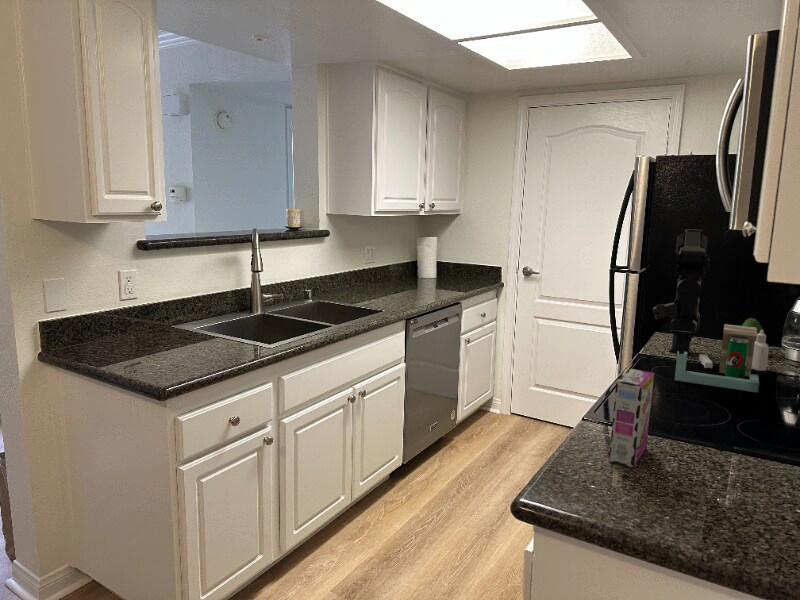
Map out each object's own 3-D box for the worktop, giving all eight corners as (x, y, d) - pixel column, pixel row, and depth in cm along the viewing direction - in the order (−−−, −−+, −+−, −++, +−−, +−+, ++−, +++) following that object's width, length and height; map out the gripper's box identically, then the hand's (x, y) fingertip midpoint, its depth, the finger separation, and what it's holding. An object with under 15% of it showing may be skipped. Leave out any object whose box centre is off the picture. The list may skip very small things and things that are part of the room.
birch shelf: (719, 371, 173) (724, 324, 171) (750, 376, 169) (756, 327, 167) (718, 378, 166) (723, 329, 164) (750, 383, 162) (757, 332, 160)
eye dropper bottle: (749, 369, 175) (753, 331, 173) (749, 365, 180) (753, 327, 178) (766, 372, 173) (771, 332, 171) (765, 367, 178) (770, 329, 176)
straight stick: (698, 360, 187) (699, 354, 187) (705, 360, 186) (706, 354, 186) (704, 368, 178) (705, 362, 177) (712, 369, 177) (712, 362, 177)
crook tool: (677, 372, 172) (680, 345, 171) (757, 383, 162) (760, 355, 161) (674, 380, 165) (677, 352, 163) (758, 392, 155) (761, 363, 153)
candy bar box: (635, 469, 110) (642, 386, 107) (608, 462, 113) (614, 380, 110) (648, 449, 119) (655, 371, 116) (623, 443, 122) (629, 367, 119)
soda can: (748, 380, 165) (753, 339, 163) (730, 380, 165) (735, 339, 163) (738, 375, 170) (743, 335, 168) (721, 375, 170) (725, 335, 168)
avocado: (738, 355, 192) (742, 319, 190) (732, 349, 200) (736, 315, 198) (765, 357, 190) (770, 321, 188) (758, 351, 197) (763, 316, 195)
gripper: (660, 288, 173) (655, 339, 176) (652, 297, 157) (647, 353, 160) (702, 291, 167) (696, 344, 170) (698, 301, 151) (692, 359, 154)
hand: (682, 350), depth 164 cm, fingers open, 9 cm apart
